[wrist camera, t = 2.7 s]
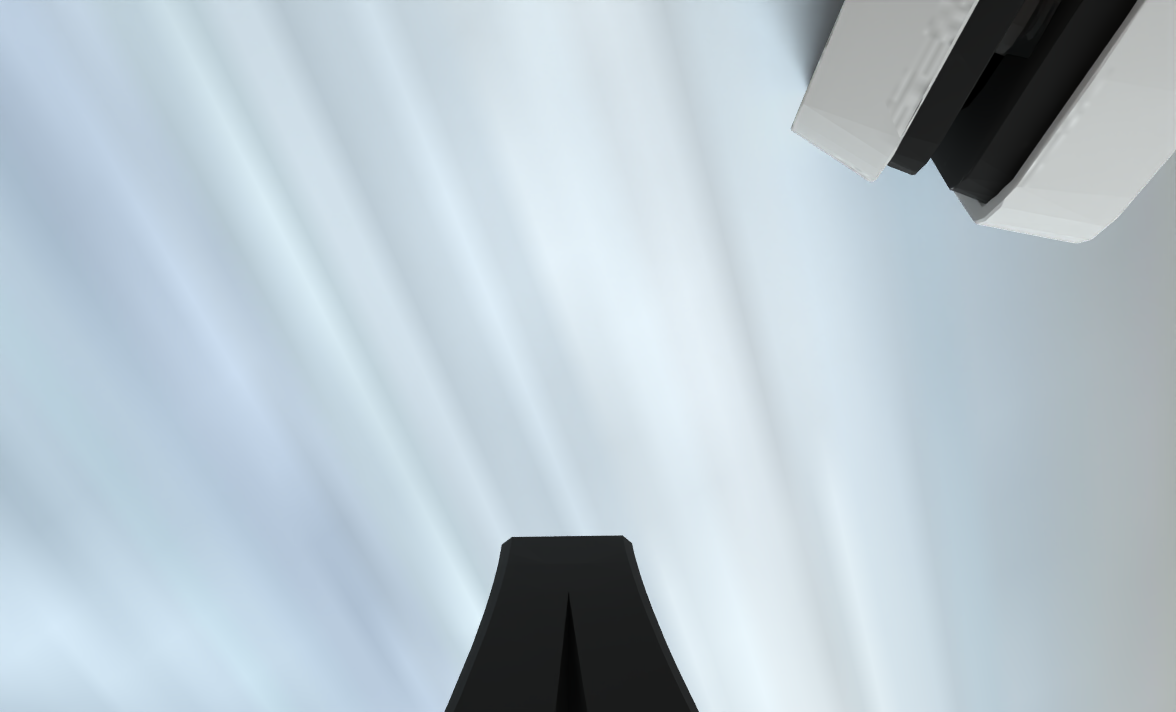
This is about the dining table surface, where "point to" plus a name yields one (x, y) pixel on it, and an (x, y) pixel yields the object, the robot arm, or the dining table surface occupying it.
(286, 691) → the dining table surface
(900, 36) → the white zipper pouch
